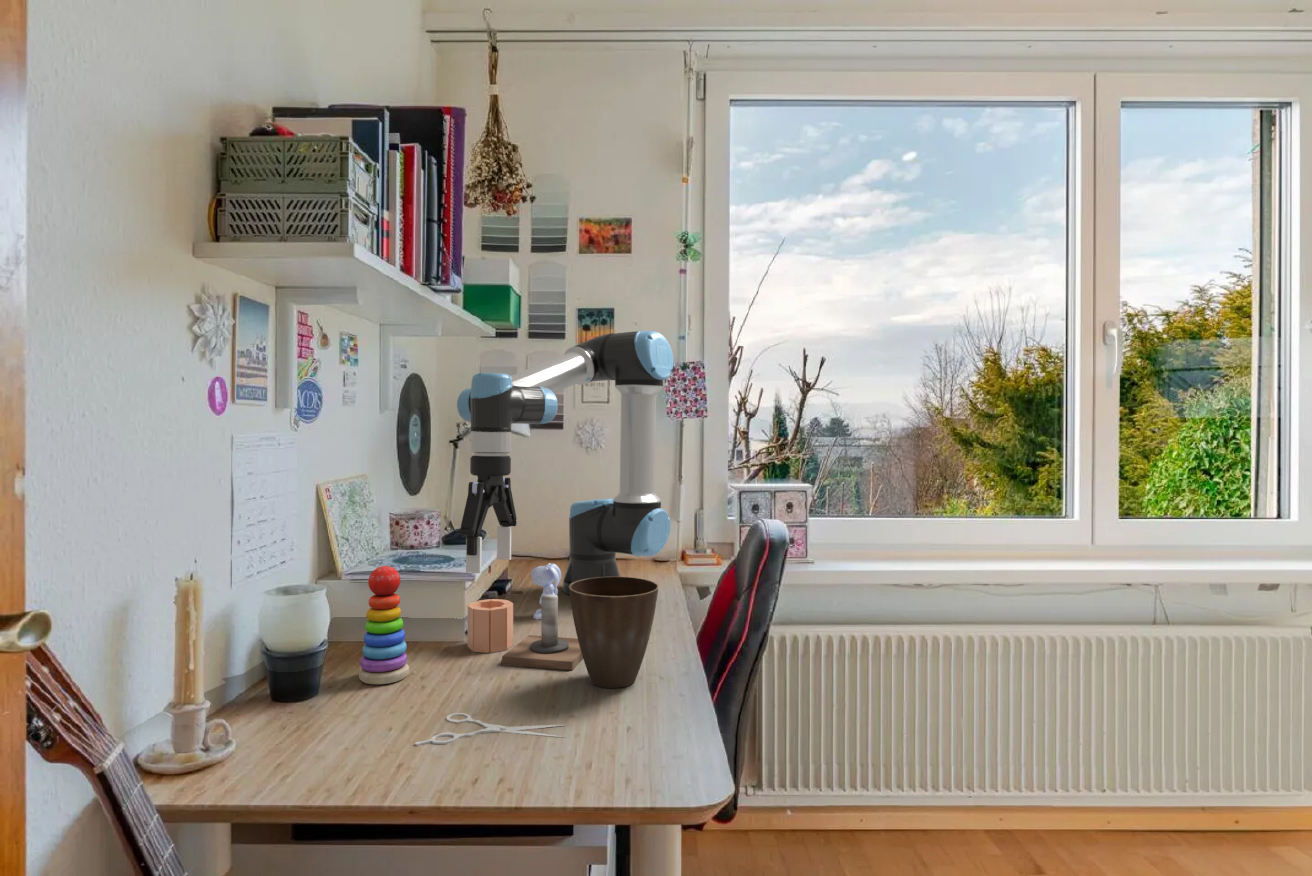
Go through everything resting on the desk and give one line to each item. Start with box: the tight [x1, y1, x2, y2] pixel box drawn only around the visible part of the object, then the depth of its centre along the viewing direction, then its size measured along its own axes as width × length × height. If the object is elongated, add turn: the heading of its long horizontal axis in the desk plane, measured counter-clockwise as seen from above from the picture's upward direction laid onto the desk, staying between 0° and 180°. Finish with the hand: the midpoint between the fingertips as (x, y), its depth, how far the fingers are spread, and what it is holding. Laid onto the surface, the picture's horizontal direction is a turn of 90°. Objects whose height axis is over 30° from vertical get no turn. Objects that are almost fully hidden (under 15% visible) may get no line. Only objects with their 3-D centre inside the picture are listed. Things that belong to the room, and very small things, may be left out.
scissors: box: [414, 712, 565, 747], centre depth 103 cm, size 11×1×20 cm
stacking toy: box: [358, 565, 410, 685], centre depth 123 cm, size 8×8×19 cm
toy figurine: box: [530, 562, 562, 620], centre depth 162 cm, size 7×6×12 cm
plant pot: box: [569, 576, 659, 689], centre depth 123 cm, size 15×15×16 cm
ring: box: [467, 598, 514, 654], centre depth 141 cm, size 8×8×8 cm
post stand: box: [501, 594, 584, 671], centre depth 135 cm, size 13×13×11 cm
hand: (489, 565), depth 140 cm, fingers open, 13 cm apart
